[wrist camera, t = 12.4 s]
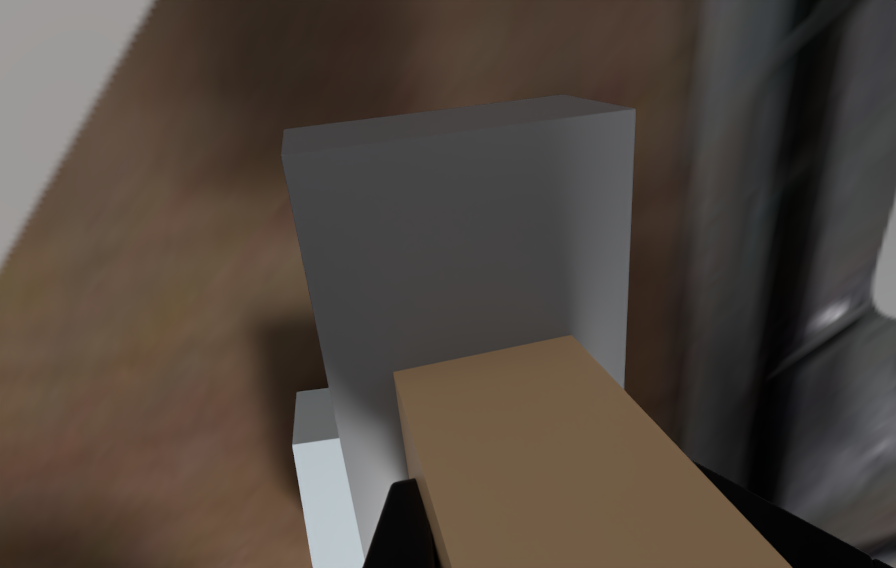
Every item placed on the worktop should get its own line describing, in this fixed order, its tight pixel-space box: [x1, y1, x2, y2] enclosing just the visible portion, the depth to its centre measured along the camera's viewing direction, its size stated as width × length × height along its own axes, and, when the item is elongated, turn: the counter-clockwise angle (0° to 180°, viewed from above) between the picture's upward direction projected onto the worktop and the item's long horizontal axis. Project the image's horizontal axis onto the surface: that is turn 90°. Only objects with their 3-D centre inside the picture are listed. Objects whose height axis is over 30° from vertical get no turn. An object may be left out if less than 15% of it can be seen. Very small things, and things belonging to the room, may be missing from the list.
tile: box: [292, 388, 365, 568], centre depth 20 cm, size 6×6×3 cm
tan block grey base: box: [281, 94, 792, 568], centre depth 8 cm, size 5×10×10 cm, turn 5°
